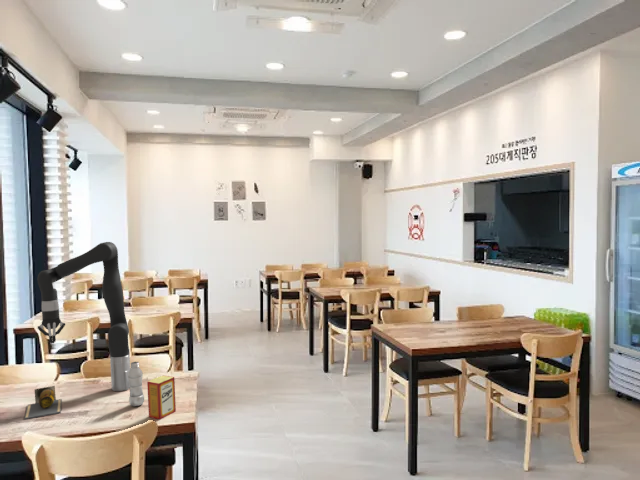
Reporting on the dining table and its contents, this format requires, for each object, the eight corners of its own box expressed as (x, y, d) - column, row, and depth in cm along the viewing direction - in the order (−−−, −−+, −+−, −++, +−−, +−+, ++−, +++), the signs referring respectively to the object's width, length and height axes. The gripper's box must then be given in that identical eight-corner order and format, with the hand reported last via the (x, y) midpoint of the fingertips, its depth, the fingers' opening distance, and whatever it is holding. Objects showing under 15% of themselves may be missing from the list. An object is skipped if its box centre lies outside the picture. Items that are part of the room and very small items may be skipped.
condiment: (55, 400, 235) (55, 408, 224) (35, 404, 231) (33, 412, 221) (54, 385, 235) (53, 393, 224) (34, 389, 231) (32, 397, 220)
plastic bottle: (147, 403, 229) (145, 361, 228) (137, 408, 222) (135, 365, 221) (136, 401, 231) (134, 360, 230) (126, 407, 224) (124, 364, 223)
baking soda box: (164, 409, 221) (163, 374, 220) (175, 411, 218) (174, 376, 217) (148, 417, 212) (147, 381, 212) (160, 419, 210) (158, 383, 209)
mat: (27, 405, 229) (27, 404, 229) (61, 400, 236) (61, 398, 236) (24, 419, 213) (24, 418, 213) (60, 413, 220) (60, 411, 220)
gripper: (35, 312, 240) (37, 346, 241) (65, 308, 246) (67, 342, 247) (35, 309, 246) (37, 343, 247) (64, 306, 253) (66, 339, 254)
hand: (52, 343), depth 247 cm, fingers closed
